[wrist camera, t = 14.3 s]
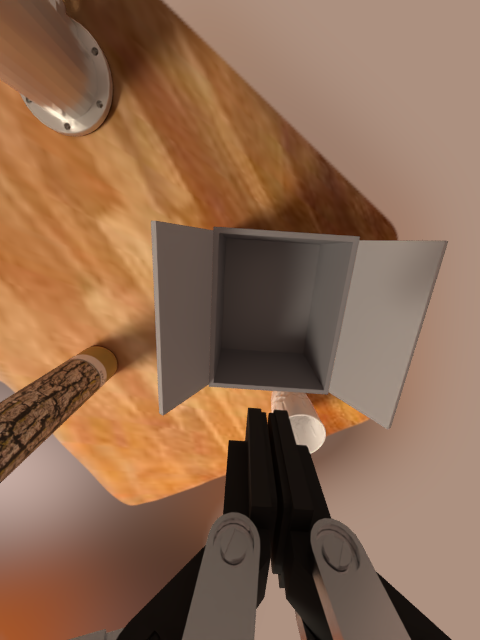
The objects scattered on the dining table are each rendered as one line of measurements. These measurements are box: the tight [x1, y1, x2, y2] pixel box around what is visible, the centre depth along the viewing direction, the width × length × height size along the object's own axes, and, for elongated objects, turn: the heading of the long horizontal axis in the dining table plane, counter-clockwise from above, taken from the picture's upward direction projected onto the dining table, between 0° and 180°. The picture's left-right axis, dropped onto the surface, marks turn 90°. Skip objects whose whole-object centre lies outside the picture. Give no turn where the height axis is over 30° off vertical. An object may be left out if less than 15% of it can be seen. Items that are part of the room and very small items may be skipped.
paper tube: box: [0, 346, 117, 483], centre depth 32 cm, size 7×7×25 cm
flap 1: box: [151, 221, 213, 415], centre depth 25 cm, size 8×19×1 cm
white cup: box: [271, 391, 326, 454], centre depth 40 cm, size 8×8×10 cm
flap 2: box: [329, 240, 448, 429], centre depth 25 cm, size 8×19×1 cm
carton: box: [209, 227, 360, 394], centre depth 34 cm, size 20×16×12 cm
